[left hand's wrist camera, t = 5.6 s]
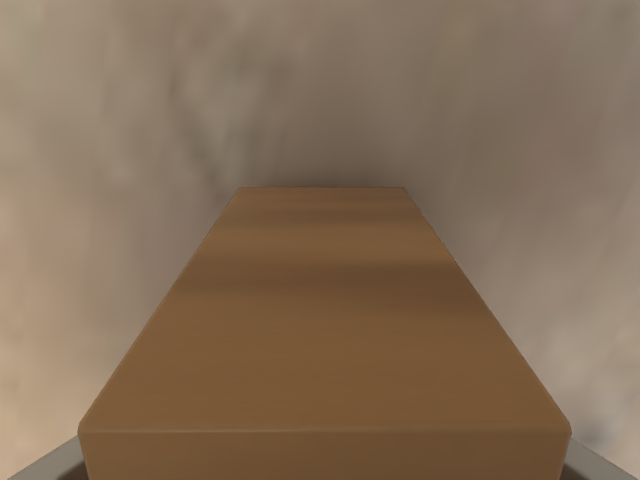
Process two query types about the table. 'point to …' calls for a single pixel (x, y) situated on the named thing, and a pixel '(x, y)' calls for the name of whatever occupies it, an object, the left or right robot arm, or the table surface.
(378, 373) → the bar
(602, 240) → the table surface
